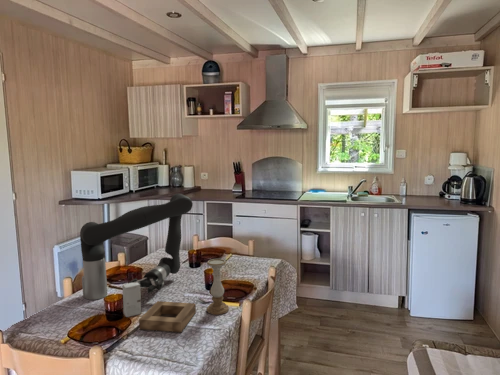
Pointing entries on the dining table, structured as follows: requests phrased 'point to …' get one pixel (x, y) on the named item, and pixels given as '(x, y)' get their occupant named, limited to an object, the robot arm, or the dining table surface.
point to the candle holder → (217, 289)
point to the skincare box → (131, 299)
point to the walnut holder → (167, 317)
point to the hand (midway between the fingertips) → (138, 290)
